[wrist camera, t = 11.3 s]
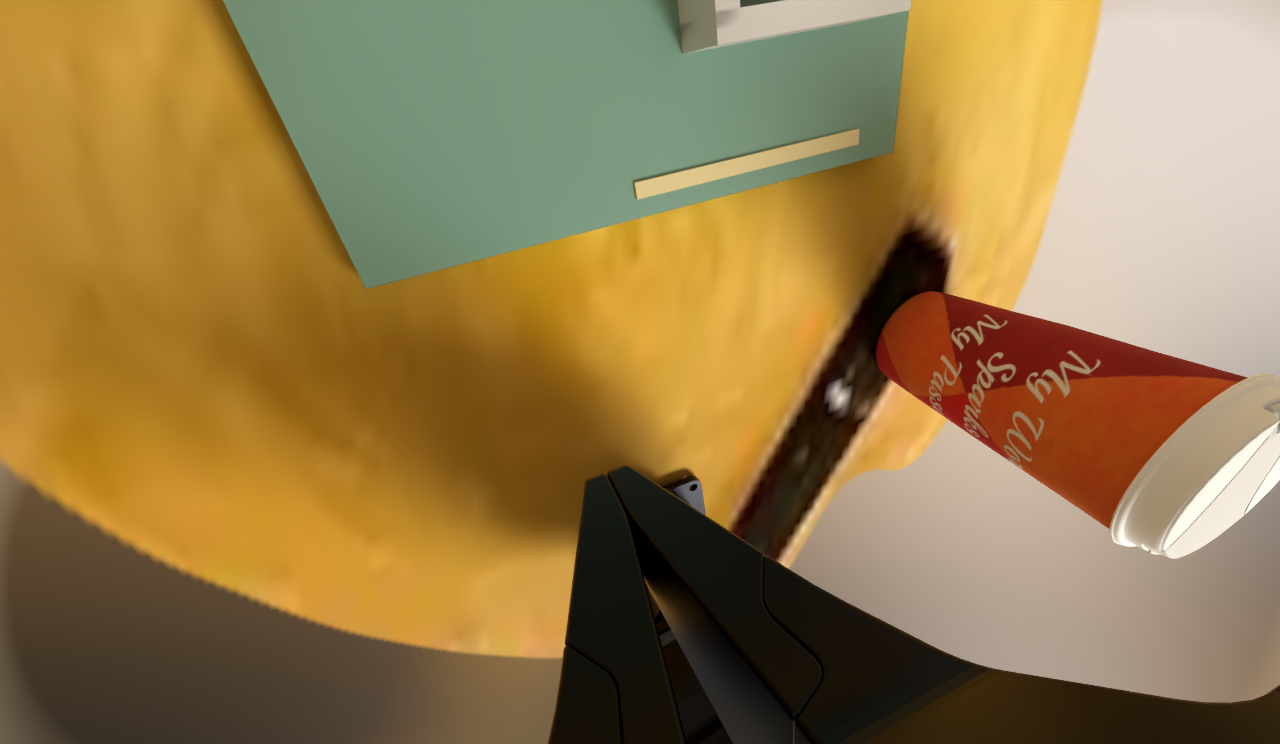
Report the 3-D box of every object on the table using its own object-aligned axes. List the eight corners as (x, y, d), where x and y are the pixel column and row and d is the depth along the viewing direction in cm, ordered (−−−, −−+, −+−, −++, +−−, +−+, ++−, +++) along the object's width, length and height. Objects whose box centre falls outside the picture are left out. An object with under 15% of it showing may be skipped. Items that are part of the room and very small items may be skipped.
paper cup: (877, 279, 25) (1246, 419, 14) (982, 265, 27) (1375, 374, 16) (847, 404, 29) (1117, 597, 17) (941, 382, 31) (1236, 540, 20)
